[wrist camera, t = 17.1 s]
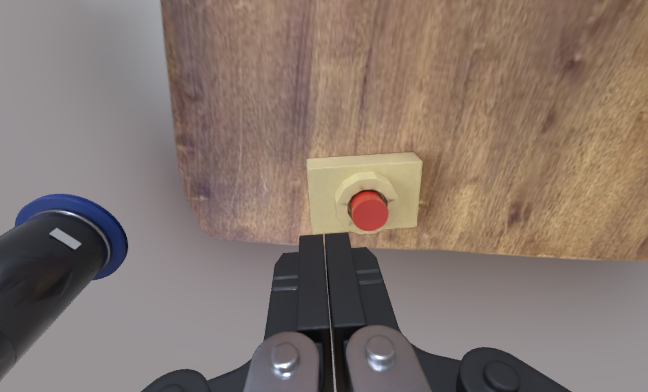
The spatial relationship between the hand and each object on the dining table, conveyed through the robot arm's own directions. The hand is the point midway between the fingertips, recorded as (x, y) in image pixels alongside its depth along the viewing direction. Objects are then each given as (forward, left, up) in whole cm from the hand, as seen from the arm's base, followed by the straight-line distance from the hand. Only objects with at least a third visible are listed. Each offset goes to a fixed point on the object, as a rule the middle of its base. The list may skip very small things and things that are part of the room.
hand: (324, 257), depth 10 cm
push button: (+5, -9, -20) cm, 23 cm away
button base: (+5, -10, -25) cm, 27 cm away
